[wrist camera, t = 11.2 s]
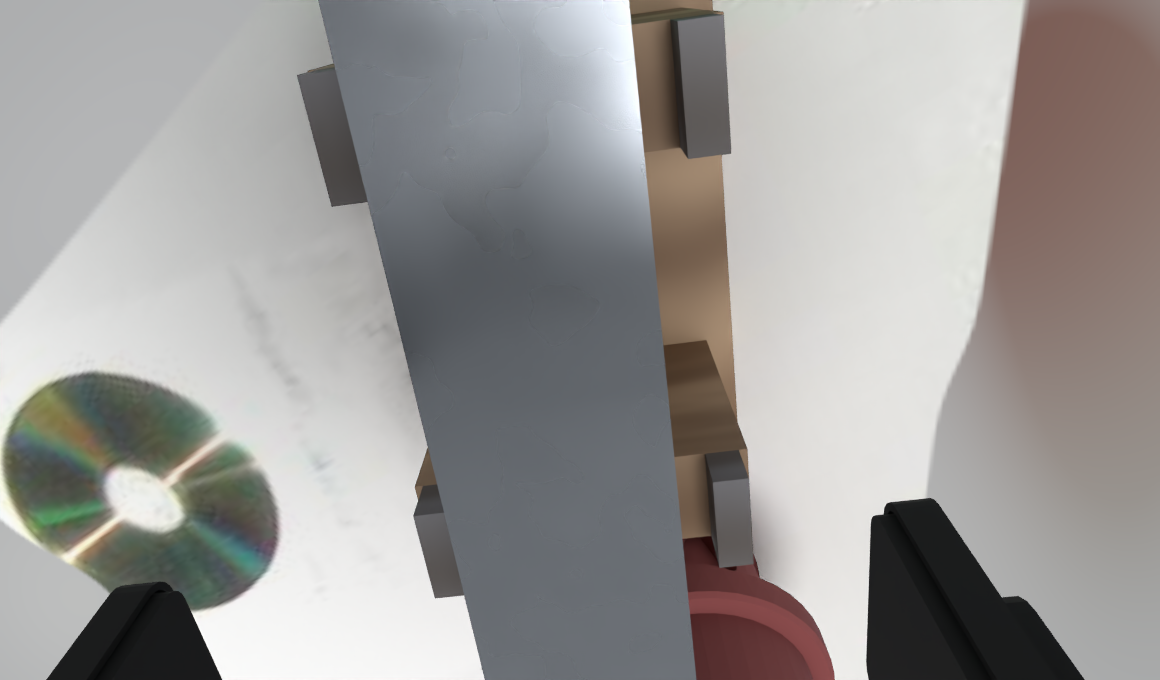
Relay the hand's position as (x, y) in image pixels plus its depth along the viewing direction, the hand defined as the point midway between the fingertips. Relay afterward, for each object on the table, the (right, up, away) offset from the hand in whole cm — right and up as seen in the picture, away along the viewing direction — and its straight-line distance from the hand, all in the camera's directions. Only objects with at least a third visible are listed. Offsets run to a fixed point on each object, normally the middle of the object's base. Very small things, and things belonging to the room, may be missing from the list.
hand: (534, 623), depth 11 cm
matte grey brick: (0, +4, +11) cm, 12 cm away
